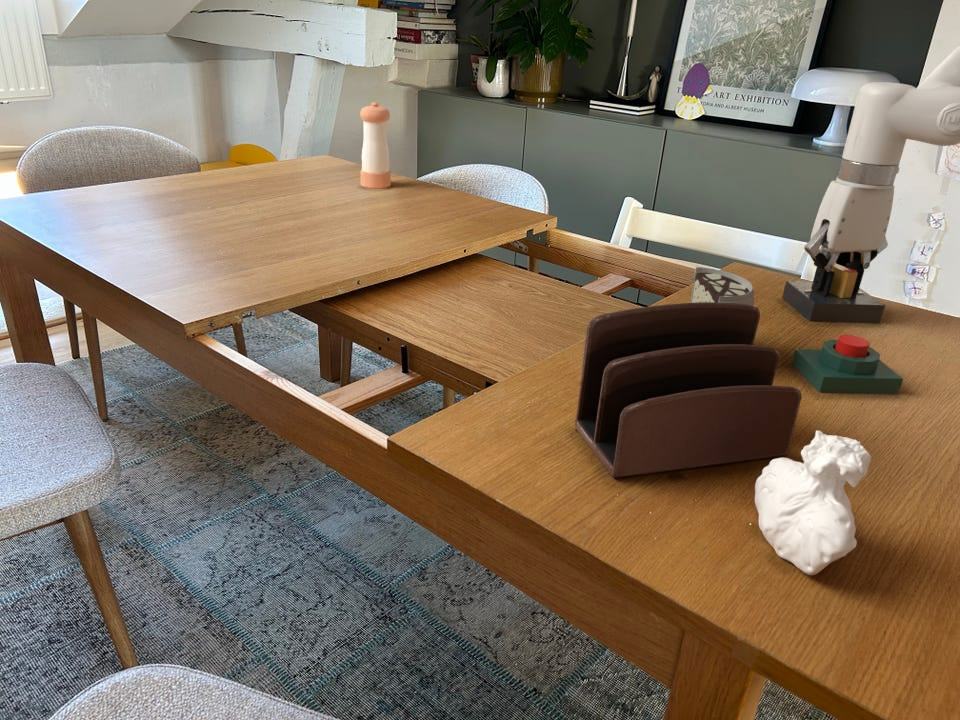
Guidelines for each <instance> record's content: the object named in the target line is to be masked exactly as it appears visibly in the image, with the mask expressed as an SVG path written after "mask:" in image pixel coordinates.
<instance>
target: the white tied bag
mask: <svg viewBox="0 0 960 720" xmlns="http://www.w3.org/2000/svg"><path fill="white" fill-rule="evenodd" d="M800 455H801V458H802V461H803V462H801V461H797V460H794V459H791V458H789V457H776V458H774V459H772V460H770V461H769V464H768V465H766V466H765V467H763V468H762V470H761V475H759V476H758V477H757V478H756V481H755V484H754V493H755V494H754V504H755V507H756V510H757V513H758V527H759V530H760V531H761V533H762V535H763V537H764V539H765V540H766V541H767V542H768V544H769V545H771V547H772V548H773V549H774V551H775V553H776V554H777V556H778V557H779V558H781V559H783V560H785V561H787V562H790V563H792V564H793V565H794V566H795V567H796V568H797V569H799V570H800V571H801V572H803V573H804V574H806V575H808V576H815V575H817V574H819V573H820V572H821V571H823V570H824V569H825V568H826V567H827V566H829V565H830V564H832V563H833V562H835V561H837V560H839V559H841V558H842V557H846V556H847V554H849V553H850V552H852V551H853V550H854V549H855V548H856V547H857V545H858V541H857V539H856V538H855V535H856V532H857V529H856V524H855V516H854V514H853V512H852V507H851V506H852V504H851V500H850V499H849V497H848V495H847V494H846V491H845V485H846V483H848V484H849V485H850V486H851V487H852V488H856V487H857V486H858V484H859V482H860V481H861V480H862V479H863V478H864V477H865V476H867V474H868V473H867V472H868V470H869V466H870V465H871V462H872V456H871V454H870V453H869V451H867V449H866V448H865V447H864V446H863V445H862V444H861V440H860V441H858V440H857V439H853V438H851V437H845V436H840V435H833V434H832V435H829V434H825V433H823V431H821V430H819V429H818V430H815V433H814V438H813V439H812V440H811V441H810V443H809V444H807V445H804V446H803V449H801V451H800Z"/></svg>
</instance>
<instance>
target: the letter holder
mask: <svg viewBox="0 0 960 720" xmlns="http://www.w3.org/2000/svg"><path fill="white" fill-rule="evenodd" d="M760 319H761V312H760V309H759V308H758V307H757V306H751V305H746V304H736V303H721V302H695V303H691V302H681V303H671V304H670V303H669V304H659V305H650V306H643V307H636V308H630V309H623V310H618V311H613V312H608V313H603V314H599V315H597V316H595V317H594V318H592V319H591V321H589V323H588V324H587V328H586V333H585V342H584V349H583V357H582V358H583V359H582V369H581V377H580V382H579V392H578V401H577V408H576V413H575V414H576V415H575V420H574V429H575V431H577V433H579V435H580V436H581V437H582V439H583V440H584V442H585V443H586V444H587V445H588V447H589V449H591V451H592V452H593V454H594V455H595V456H596V457H597V459H598V460H599V462H600V463H601V464H602V466H603V467H604V468H605V470H606V471H607V472H608V473H609V475H610V476H611V477H612V478H613V479H616V478H623V477H631V476H639V475H646V474H647V475H649V474H656V473H664V472H671V471H678V470H687V469H694V468H701V467H710V466H718V465H723V464H724V465H725V464H734V463H741V462H747V461H756V460H765V459H772V458H781V457H786V456H788V455H789V453H790V449H791V442H792V439H793V434H794V430H795V427H796V422H797V418H798V413H799V409H800V405H801V401H802V392H801V390H799V388H796V387H794V386H788V385H773V383H774V380H775V376H776V371H777V368H778V364H779V360H780V351H779V350H778V348H775V347H773V346H772V347H771V346H764V345H763V346H762V345H754V342H755V339H756V335H757V331H758V326H759V323H760Z"/></svg>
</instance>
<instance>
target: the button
mask: <svg viewBox="0 0 960 720" xmlns="http://www.w3.org/2000/svg"><path fill="white" fill-rule="evenodd" d="M836 340H837V344H836V347H835V350H836V351H837V352H839V353H841V354H843V355H846V356H851V357H856V358H865V357H866V355H867V352H868V349H869V347H871V343H870V341H869V340H867V339H866V338H863V337H861V336H857V335H854V334H853V335H852V334H841V335H839V336H838V337H837V339H836Z"/></svg>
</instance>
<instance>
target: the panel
mask: <svg viewBox="0 0 960 720" xmlns="http://www.w3.org/2000/svg"><path fill="white" fill-rule="evenodd" d="M812 283H813V281H809V280H808V281H807V280H806V281H805V280H786V281H785V284H784V289H783V292H782V297H781V298H782V299H783V300H784V301H785V302H786V303H787V304H789V305H790V306H791V307H792V308H793V309H794V310H795V311H796V312H798V313H799V314H800V315H801V316H802V317H804V318H805V319H806V320H807V321H808V322H812V323H814V322H816V323H847V324H850V323H851V324H881V321H882V317H883V315H884V311H885V308H886V304H884V303H883V302H881V301H880V300H878V299H877V298H875V297H874V296H872V295H871V294H869V293H868V292H867V291H865V290H864V289H862V288H861V287H859V291H858V293H857V294H852V295H851V298H840V297H838V296H836V295H834V294H832V293H830V292H829V295H828V296H822V295H820V294H818V293H816V292H814V291H812V289H811V287H812Z"/></svg>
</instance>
